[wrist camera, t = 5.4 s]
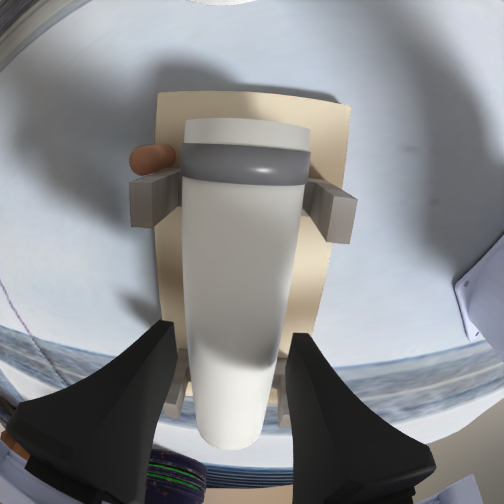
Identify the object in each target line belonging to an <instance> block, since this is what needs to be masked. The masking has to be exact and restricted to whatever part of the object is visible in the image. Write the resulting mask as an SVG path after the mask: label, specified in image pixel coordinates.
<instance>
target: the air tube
mask: <svg viewBox="0 0 504 504" xmlns="http://www.w3.org/2000/svg"><path fill="white" fill-rule="evenodd" d="M310 131H311V130H310V129H308V128H305V127H301V126H297V125H292V124H287V123H280V122H273V121H265V120H255V119H241V118H201V119H191V120H187V121H185V133H184V143H181V162H180V175H181V176H182V261H183V287H184V305H185V321H186V334H187V345H188V356H189V366H190V375H191V384H192V392H193V400H194V407H195V414H196V421H197V427H198V431H199V433H200V435H201V437H202V438H203V439H204V440H205V441H206V442H207V443H208V444H210V445H212V446H213V447H216V448H218V449H222V450H240V449H243V448H246V447H248V446H250V445H251V444H253V443H254V442H255V441H256V440H257V438H258V437H259V435H260V433H261V430H262V425H263V421H264V417H265V412H266V408H267V404H268V399H269V395H270V390H271V385H272V381H273V376H274V371H275V366H276V361H277V356H278V351H279V346H280V341H281V336H282V330H283V325H284V319H285V314H286V308H287V302H288V297H289V291H290V285H291V279H292V272H293V266H294V260H295V253H296V246H297V239H298V233H299V225H300V218H301V211H302V203H303V195H304V187H305V184H307V182H308V174H309V166H310V157H311V152H309V142H310Z"/></svg>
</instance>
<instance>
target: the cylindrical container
mask: <svg viewBox="0 0 504 504" xmlns="http://www.w3.org/2000/svg"><path fill="white" fill-rule="evenodd" d="M188 1H191V2H194V3H199V4H205V5H221V6H222V5H235V4H241V3H246V2H251V1H254V0H188Z"/></svg>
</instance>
